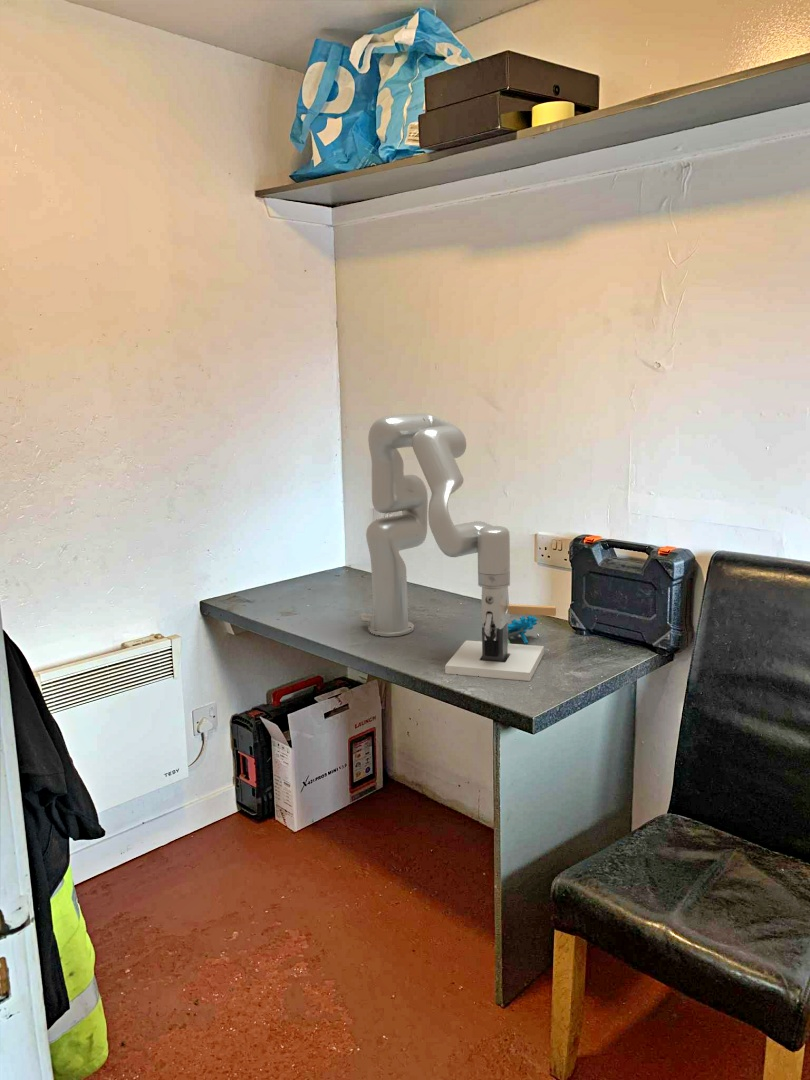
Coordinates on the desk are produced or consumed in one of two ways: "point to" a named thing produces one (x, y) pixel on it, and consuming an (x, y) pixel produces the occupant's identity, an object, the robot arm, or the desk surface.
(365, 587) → the desk surface
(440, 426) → the robot arm
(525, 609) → the clip
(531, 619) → the blue spiky figurine
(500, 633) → the plug
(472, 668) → the socket block
